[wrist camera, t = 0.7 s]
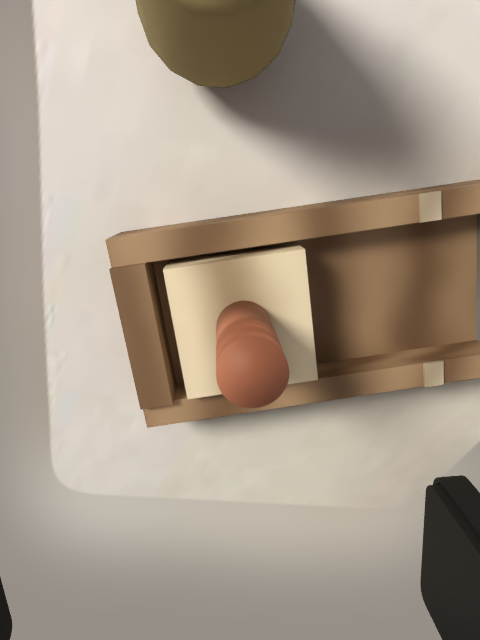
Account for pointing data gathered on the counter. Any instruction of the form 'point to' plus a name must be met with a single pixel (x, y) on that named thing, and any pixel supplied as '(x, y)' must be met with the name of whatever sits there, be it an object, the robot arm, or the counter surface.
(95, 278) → the counter surface
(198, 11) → the squeeze bottle
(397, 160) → the counter surface
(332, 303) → the base
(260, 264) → the carriage
